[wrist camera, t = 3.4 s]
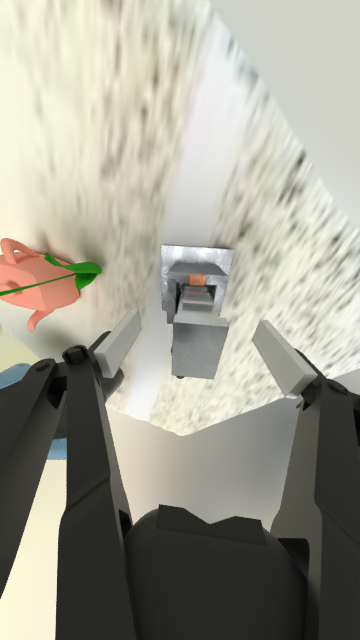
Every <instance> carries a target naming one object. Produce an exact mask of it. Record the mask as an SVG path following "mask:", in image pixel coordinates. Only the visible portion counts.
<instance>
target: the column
mask: <svg viewBox="0 0 360 640" xmlns="http://www.w3.org/2000/svg"><path fill="white" fill-rule="evenodd" d="M189 284H190V283H183V287H182V292H181V297H180V302H179V306H178V311H177V314H175V317H174V321H173V349H172V375H175V376H185V377H195V378H205V379H214V377H215V374H216V370H217V367H218V363H219V360H220V357H221V353H222V350H223V346H224V343H225V340H226V336H227V333H228V329H229V325H228V323H227V320H226V318H219V316H218V313H217V310H216V308H215V305H214V302H213V299H212V296H211V293H210V290H209V287H208V284H205V285H204V286H193V285H189Z"/></svg>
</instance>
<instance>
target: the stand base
mask: <svg viewBox="0 0 360 640" xmlns="http://www.w3.org/2000/svg"><path fill="white" fill-rule="evenodd" d="M234 252H235V250H234V249H219V248H203V247H187V246H171V245H161V263H162V310H166V311H167V323H169V324H173V321H174V317H175V314H177V311H178V306H179V302H180V297H181V292H182V287H183V283H190V284H189V285H193V286H204V285H205V284H208V287H209V290H210V293H211V296H212V299H213V302H214V305H215V308H216V310H217V313H218V316H220V312H221V307H222V303H223V299H224V295H225V290H226V286H227V282H228V278H229V273H230V269H231V264H232V260H233V256H234Z"/></svg>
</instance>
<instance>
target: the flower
mask: <svg viewBox="0 0 360 640" xmlns="http://www.w3.org/2000/svg"><path fill="white" fill-rule="evenodd" d="M44 259H45V260H46V261H48V262H49V263H51V264H53V265H54V266H60V267H64V268H66V269H68V270H70V271H73V272H76V273H74V274H70V275H67V276H63V277H60V278H56V279H52V280H49V281H45V282H42V283H37V284H33V285H28V286H24V287H19V288H15V289H11V290H6V291H1V292H0V296H3V295H7V294H10V293H14V292H18V291H21V290H25V289H28V288H32V287H35V286H39V285H42V284H46V283H49V282H53V281H57V280H60V279H64V278H67V277H71V276H74V275H77V276H76V277H75V279H74V280H75V286H76V288H77V289H78V290H80V289H81V288H83V287H84V286H86V285H88V284H90V283H91V282H92V281H93V280H94V279H95V277H96V276H97V274H100V273H101V269H100V267H99V266H98V265H96V264H94V263H92V262H84V263H78V264H72V265H62V264H60V263H59V262H58V261H57V260H56V259H54V258H53V257H52V256H51V255H50V254H49V253H48V252H47V254H46V256H45V258H44Z"/></svg>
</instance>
